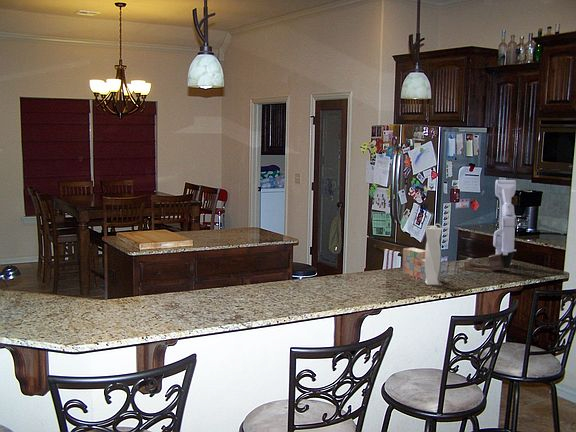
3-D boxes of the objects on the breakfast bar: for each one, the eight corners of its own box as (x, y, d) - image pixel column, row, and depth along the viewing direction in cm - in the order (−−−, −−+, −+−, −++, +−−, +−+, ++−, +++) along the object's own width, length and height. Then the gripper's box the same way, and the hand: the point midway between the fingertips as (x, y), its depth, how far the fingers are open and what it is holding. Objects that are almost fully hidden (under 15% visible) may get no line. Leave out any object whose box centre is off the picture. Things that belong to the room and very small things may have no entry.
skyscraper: (443, 286, 286) (445, 224, 283) (425, 286, 286) (427, 223, 283) (439, 282, 295) (441, 221, 291) (421, 282, 295) (423, 221, 291)
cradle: (469, 265, 332) (470, 256, 331) (492, 267, 326) (493, 258, 326) (464, 269, 321) (464, 260, 321) (488, 272, 316) (488, 262, 315)
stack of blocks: (439, 280, 297) (440, 254, 296) (428, 281, 295) (429, 255, 293) (413, 271, 316) (413, 247, 315) (402, 272, 314) (402, 247, 312)
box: (506, 267, 320) (503, 252, 320) (503, 269, 315) (500, 254, 315) (494, 269, 323) (491, 254, 323) (491, 271, 318) (487, 256, 318)
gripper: (514, 242, 307) (513, 270, 309) (518, 239, 320) (517, 266, 321) (499, 241, 310) (497, 269, 312) (504, 238, 323) (503, 264, 325)
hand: (507, 267), depth 317 cm, fingers closed
